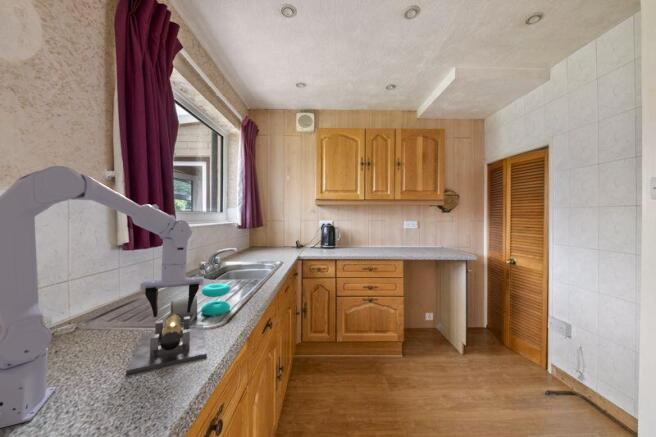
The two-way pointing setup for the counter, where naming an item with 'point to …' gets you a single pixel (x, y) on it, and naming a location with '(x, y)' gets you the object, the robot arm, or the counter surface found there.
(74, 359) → the counter surface
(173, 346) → the brass tube
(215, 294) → the donuts
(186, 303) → the ceramic mug
